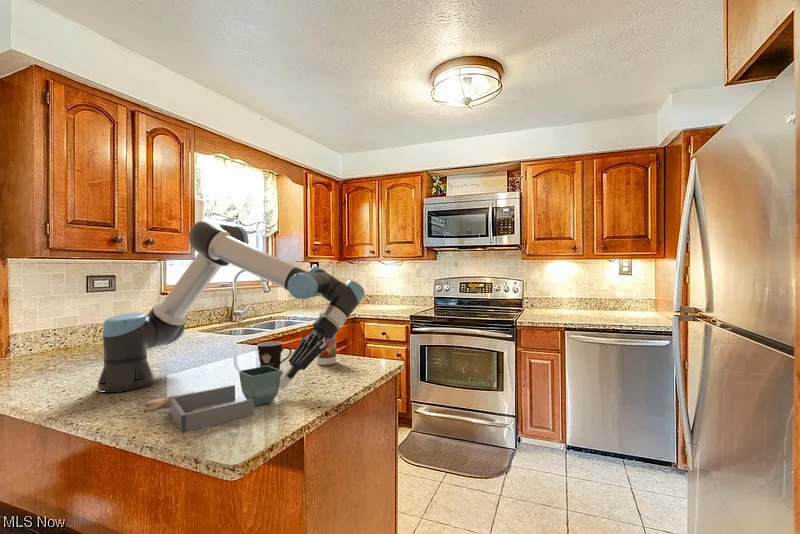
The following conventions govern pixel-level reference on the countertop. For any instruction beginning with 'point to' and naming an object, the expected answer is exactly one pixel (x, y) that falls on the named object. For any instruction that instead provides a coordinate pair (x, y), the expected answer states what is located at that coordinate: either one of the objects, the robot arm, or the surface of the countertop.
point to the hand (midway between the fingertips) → (279, 386)
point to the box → (210, 414)
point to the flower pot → (260, 384)
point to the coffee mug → (271, 354)
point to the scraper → (158, 402)
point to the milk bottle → (328, 353)
